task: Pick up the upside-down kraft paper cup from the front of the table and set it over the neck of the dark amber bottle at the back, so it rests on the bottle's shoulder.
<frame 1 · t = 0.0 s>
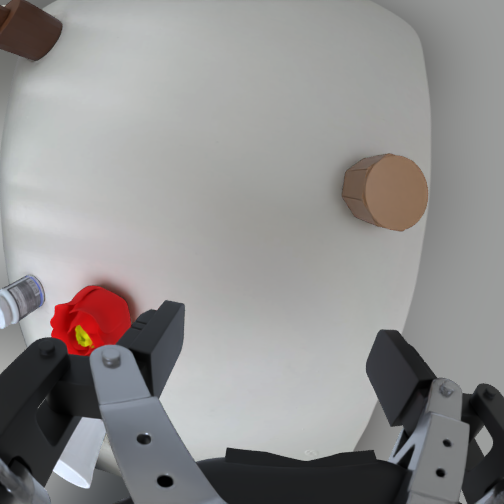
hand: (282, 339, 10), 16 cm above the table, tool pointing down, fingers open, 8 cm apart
cup: (92, 419, 35), on the table
flower: (112, 307, 29), on the table
bottle: (44, 40, 20), on the table
paper cup: (371, 189, 24), on the table
pill bottle: (35, 290, 29), on the table
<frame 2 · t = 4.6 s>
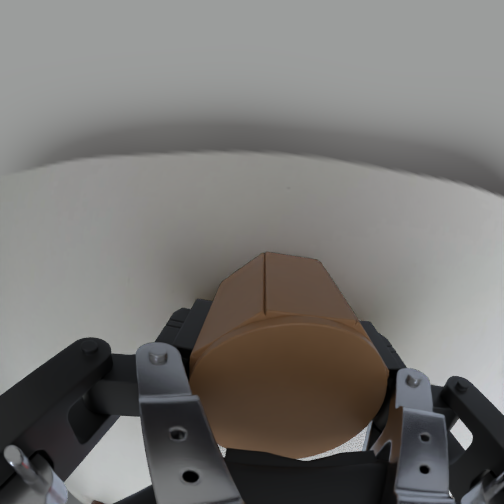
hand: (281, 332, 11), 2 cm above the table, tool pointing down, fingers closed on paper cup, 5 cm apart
paper cup: (280, 315, 13), on the table, touching gripper
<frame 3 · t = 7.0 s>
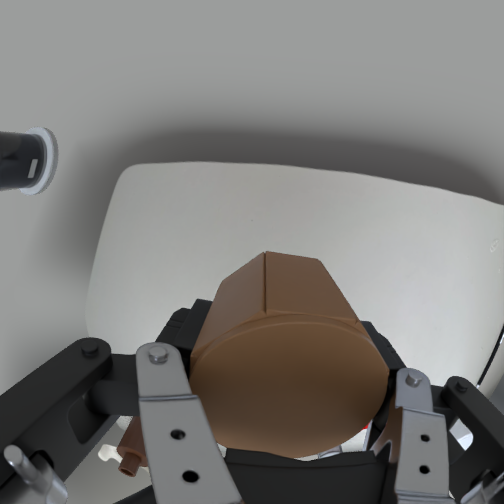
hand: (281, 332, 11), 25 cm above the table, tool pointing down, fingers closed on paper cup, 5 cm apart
cup: (432, 410, 43), on the table
pen: (491, 355, 39), on the table
bottle: (148, 422, 46), on the table
paper cup: (280, 314, 13), point 23 cm above the table, touching gripper
pill bottle: (326, 436, 44), on the table
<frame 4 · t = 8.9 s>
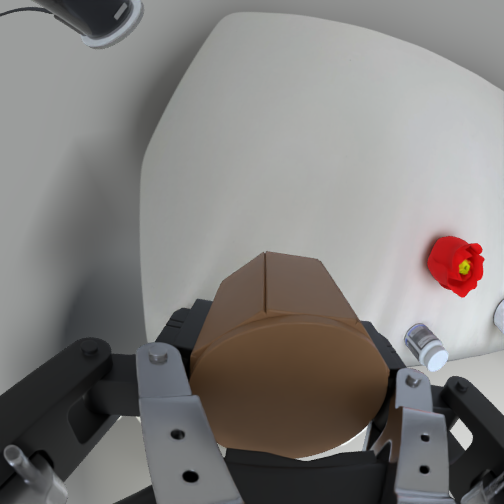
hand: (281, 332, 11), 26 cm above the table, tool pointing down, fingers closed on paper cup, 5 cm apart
cup: (501, 311, 38), on the table
flower: (438, 256, 36), on the table
paper cup: (280, 315, 13), point 24 cm above the table, touching gripper
pill bottle: (415, 334, 40), on the table
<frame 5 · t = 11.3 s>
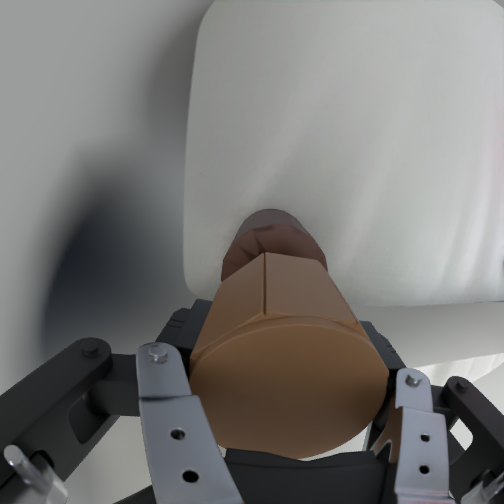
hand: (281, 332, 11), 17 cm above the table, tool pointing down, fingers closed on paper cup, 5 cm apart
bottle: (271, 243, 27), on the table
paper cup: (280, 315, 13), point 15 cm above the table, touching gripper
when the fingers open (12 cm above the table, at t = 13.3 s): paper cup stays where it is, resting on bottle.
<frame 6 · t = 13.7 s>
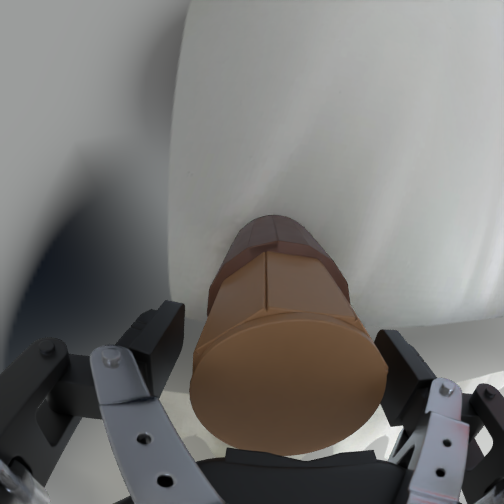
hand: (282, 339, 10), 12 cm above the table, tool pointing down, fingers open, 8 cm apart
bottle: (273, 257, 22), on the table
paper cup: (281, 313, 13), point 10 cm above the table, touching bottle
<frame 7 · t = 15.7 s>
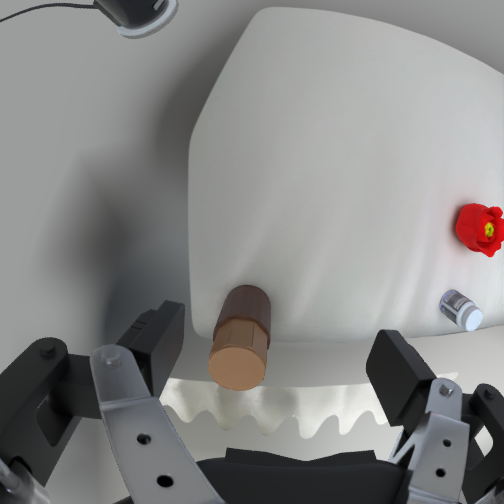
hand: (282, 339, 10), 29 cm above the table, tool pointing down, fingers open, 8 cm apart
flower: (463, 224, 36), on the table
bottle: (247, 305, 42), on the table
paper cup: (241, 340, 32), point 10 cm above the table, touching bottle
pill bottle: (448, 301, 40), on the table
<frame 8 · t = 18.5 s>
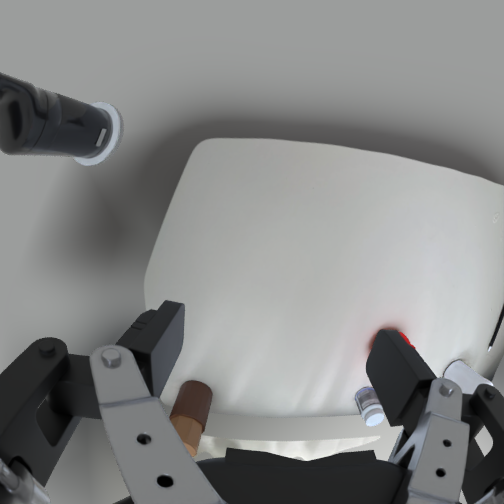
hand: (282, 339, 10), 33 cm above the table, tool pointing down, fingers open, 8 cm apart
cup: (452, 369, 49), on the table
pen: (499, 317, 45), on the table
bottle: (196, 392, 52), on the table
paper cup: (186, 425, 42), point 10 cm above the table, touching bottle
pill bottle: (364, 393, 51), on the table
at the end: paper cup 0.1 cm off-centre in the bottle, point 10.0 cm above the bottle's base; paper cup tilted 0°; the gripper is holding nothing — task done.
